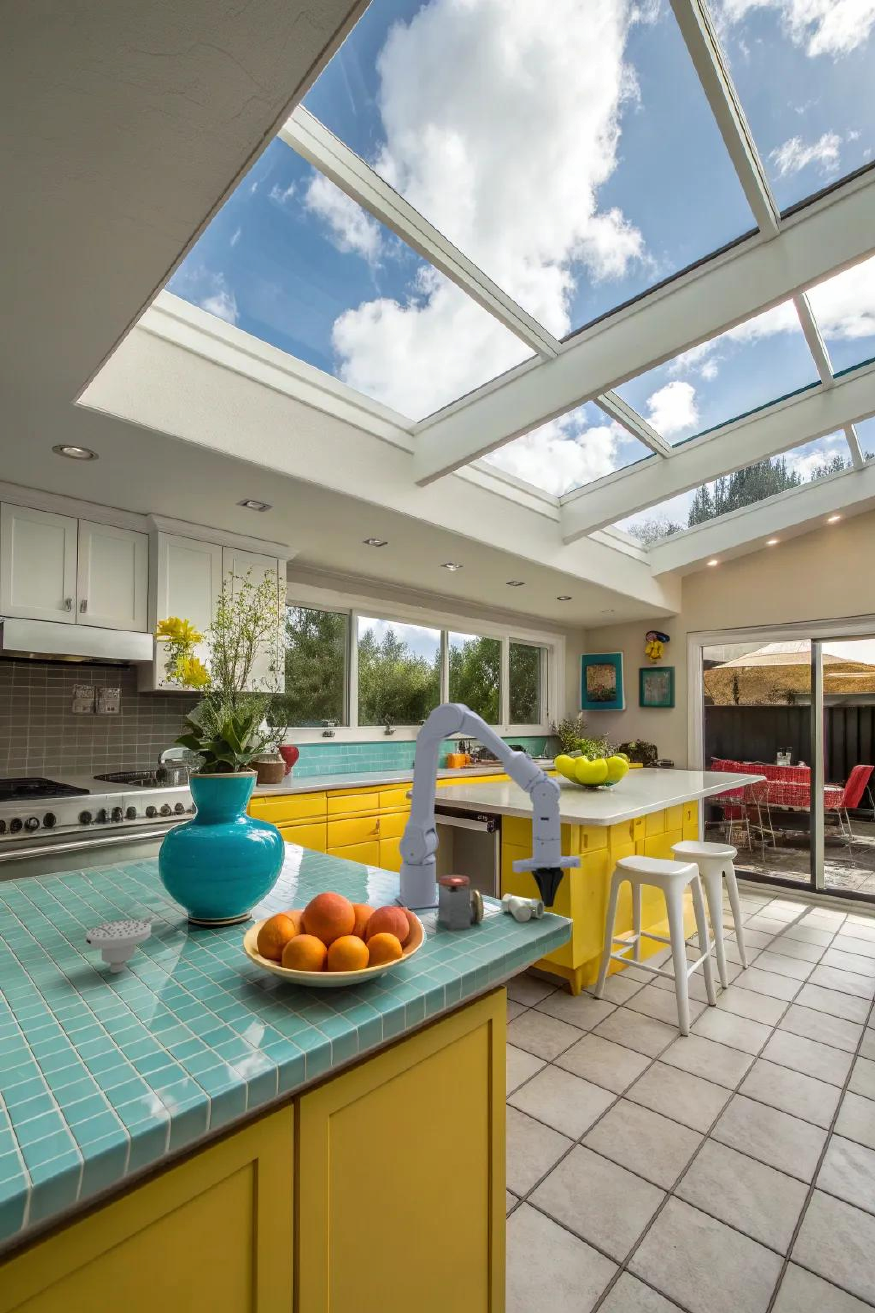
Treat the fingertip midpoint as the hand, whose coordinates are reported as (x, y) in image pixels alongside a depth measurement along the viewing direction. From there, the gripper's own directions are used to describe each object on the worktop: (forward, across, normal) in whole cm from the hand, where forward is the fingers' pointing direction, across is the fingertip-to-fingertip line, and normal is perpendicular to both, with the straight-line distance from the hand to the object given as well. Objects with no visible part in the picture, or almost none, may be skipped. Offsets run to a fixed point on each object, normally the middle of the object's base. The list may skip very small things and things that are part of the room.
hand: (547, 905), depth 134 cm
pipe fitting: (+2, -6, 0) cm, 7 cm away
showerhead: (+2, -79, -4) cm, 79 cm away
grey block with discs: (+2, -19, 0) cm, 19 cm away
